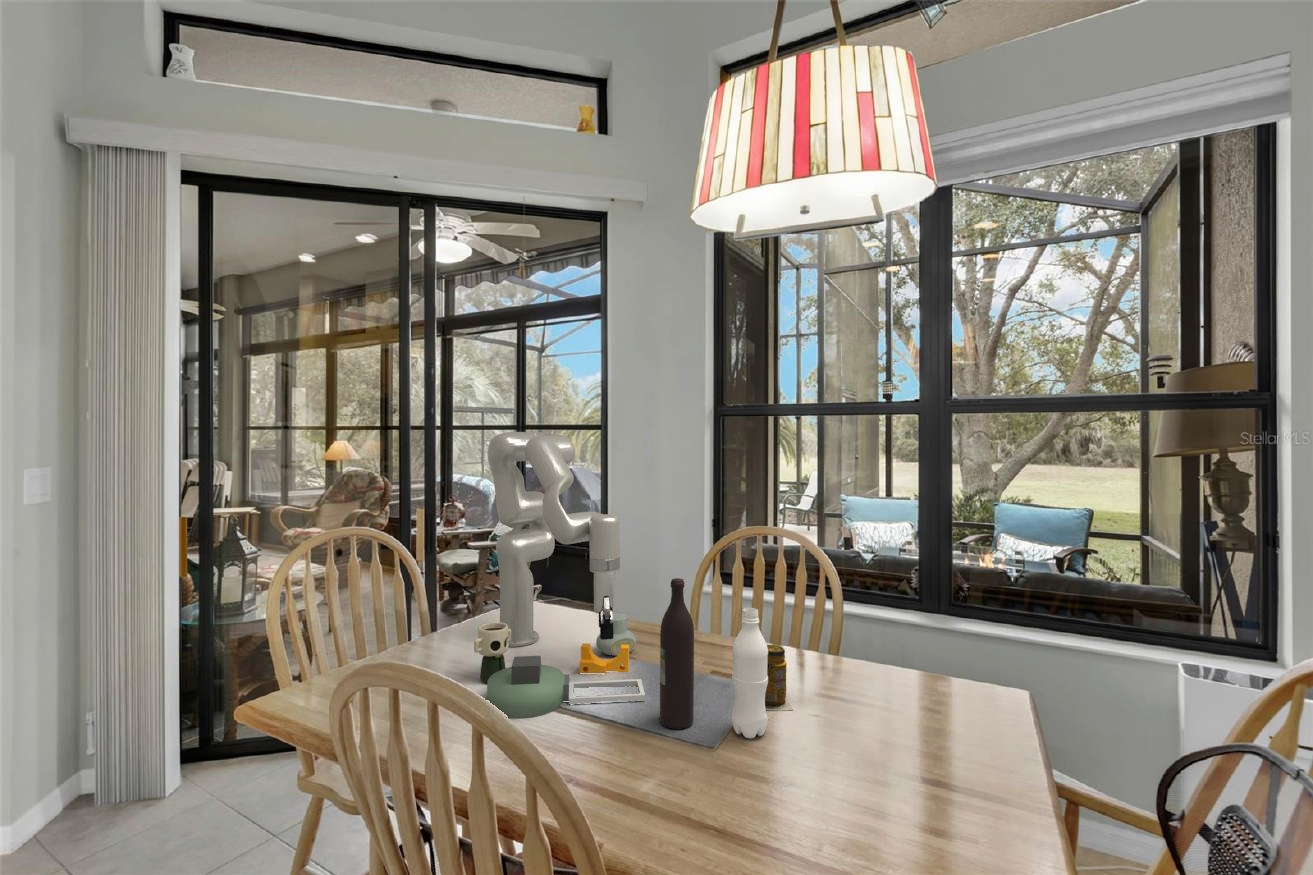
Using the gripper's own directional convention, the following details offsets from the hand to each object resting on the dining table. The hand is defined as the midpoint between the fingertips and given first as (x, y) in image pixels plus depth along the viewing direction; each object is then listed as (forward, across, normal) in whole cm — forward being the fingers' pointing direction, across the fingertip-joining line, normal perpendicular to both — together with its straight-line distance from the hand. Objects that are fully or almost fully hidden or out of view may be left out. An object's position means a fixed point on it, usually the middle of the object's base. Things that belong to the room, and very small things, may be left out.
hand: (605, 632), depth 156 cm
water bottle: (+12, +33, +27) cm, 45 cm away
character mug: (+10, 0, -28) cm, 29 cm away
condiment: (+12, +20, +36) cm, 43 cm away
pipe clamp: (+11, -2, 0) cm, 11 cm away
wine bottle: (+11, +27, +13) cm, 32 cm away
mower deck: (+10, +13, -10) cm, 19 cm away
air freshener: (+10, -15, +3) cm, 18 cm away
